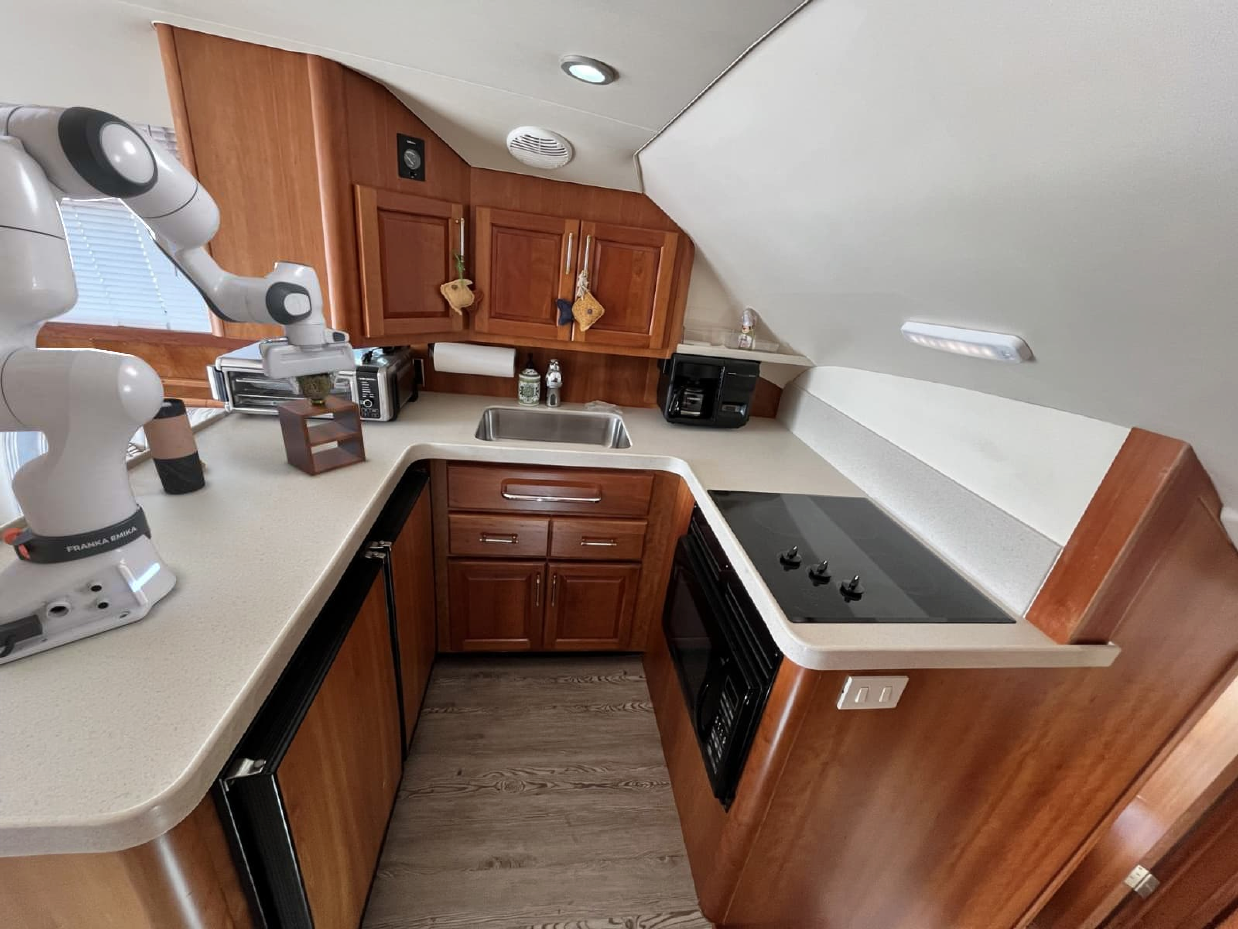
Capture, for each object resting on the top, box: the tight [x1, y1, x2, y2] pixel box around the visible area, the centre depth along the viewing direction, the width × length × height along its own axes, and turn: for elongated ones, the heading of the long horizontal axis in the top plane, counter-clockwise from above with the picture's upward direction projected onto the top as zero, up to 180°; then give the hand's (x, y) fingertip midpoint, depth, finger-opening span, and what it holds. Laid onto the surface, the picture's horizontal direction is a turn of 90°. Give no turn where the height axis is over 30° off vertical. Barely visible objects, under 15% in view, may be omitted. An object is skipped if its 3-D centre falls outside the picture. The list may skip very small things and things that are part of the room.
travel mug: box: [142, 397, 206, 496], centre depth 107 cm, size 8×8×20 cm
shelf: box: [275, 394, 367, 477], centre depth 126 cm, size 14×12×16 cm
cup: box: [295, 372, 332, 405], centre depth 122 cm, size 8×7×8 cm
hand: (315, 391), depth 122 cm, fingers closed on cup, 6 cm apart
